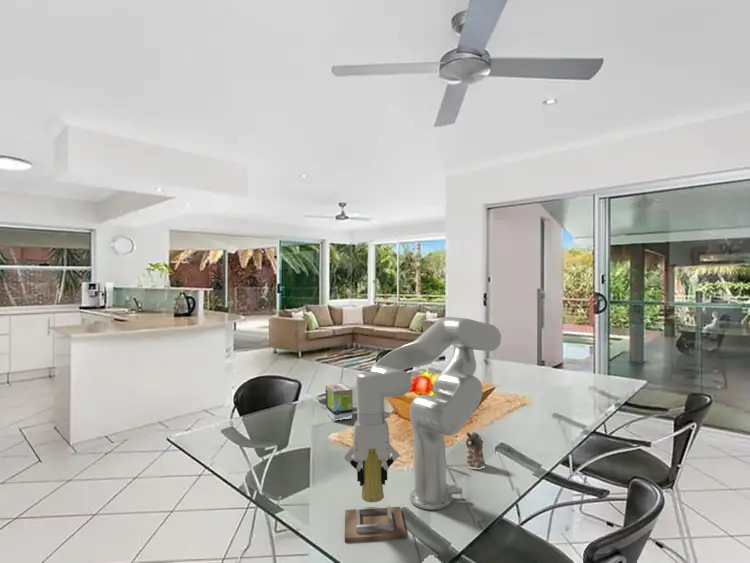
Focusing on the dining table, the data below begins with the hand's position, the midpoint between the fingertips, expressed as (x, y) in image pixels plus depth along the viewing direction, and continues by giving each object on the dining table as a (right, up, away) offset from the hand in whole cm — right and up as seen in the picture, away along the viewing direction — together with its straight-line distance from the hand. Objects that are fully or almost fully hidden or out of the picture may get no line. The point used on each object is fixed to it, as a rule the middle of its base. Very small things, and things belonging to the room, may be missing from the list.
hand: (372, 482), depth 121 cm
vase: (0, -4, 0) cm, 4 cm away
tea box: (-17, -12, +97) cm, 100 cm away
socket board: (0, -12, 0) cm, 12 cm away
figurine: (+37, -11, +36) cm, 53 cm away
